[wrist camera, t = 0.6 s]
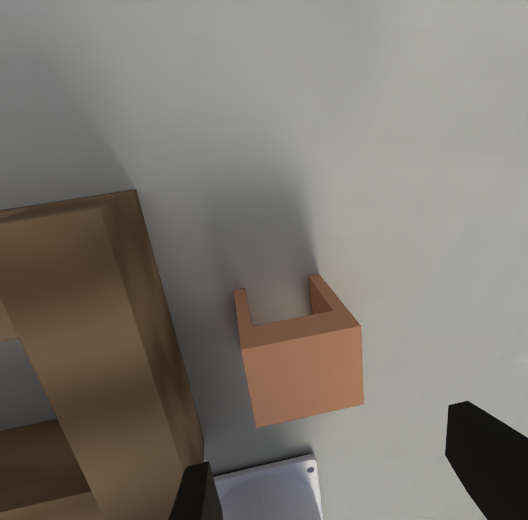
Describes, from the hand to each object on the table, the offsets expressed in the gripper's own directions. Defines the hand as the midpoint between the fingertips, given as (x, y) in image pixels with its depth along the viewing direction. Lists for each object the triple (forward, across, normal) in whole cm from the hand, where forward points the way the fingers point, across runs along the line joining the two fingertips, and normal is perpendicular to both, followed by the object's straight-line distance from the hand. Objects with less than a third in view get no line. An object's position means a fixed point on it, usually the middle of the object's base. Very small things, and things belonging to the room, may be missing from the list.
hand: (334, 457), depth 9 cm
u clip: (+9, 0, 0) cm, 9 cm away
